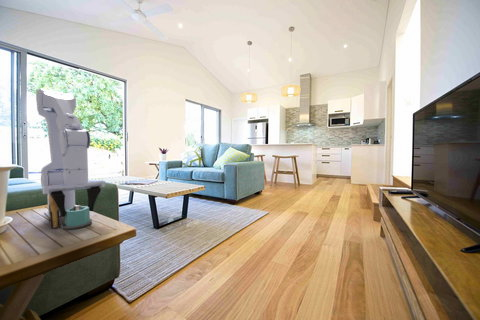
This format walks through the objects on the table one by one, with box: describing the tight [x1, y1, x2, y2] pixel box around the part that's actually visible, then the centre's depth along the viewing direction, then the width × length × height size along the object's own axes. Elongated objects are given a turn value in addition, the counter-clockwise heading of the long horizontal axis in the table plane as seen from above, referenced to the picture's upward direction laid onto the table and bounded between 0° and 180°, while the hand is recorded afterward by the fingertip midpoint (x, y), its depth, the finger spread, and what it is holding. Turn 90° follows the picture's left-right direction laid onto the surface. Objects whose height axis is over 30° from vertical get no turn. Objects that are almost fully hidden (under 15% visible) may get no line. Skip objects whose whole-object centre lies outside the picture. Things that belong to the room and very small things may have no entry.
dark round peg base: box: [61, 204, 93, 231], centre depth 60 cm, size 7×7×6 cm
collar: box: [64, 205, 91, 226], centre depth 60 cm, size 5×5×4 cm
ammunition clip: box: [48, 184, 61, 230], centre depth 61 cm, size 11×2×12 cm, turn 46°
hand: (77, 213), depth 60 cm, fingers open, 6 cm apart
